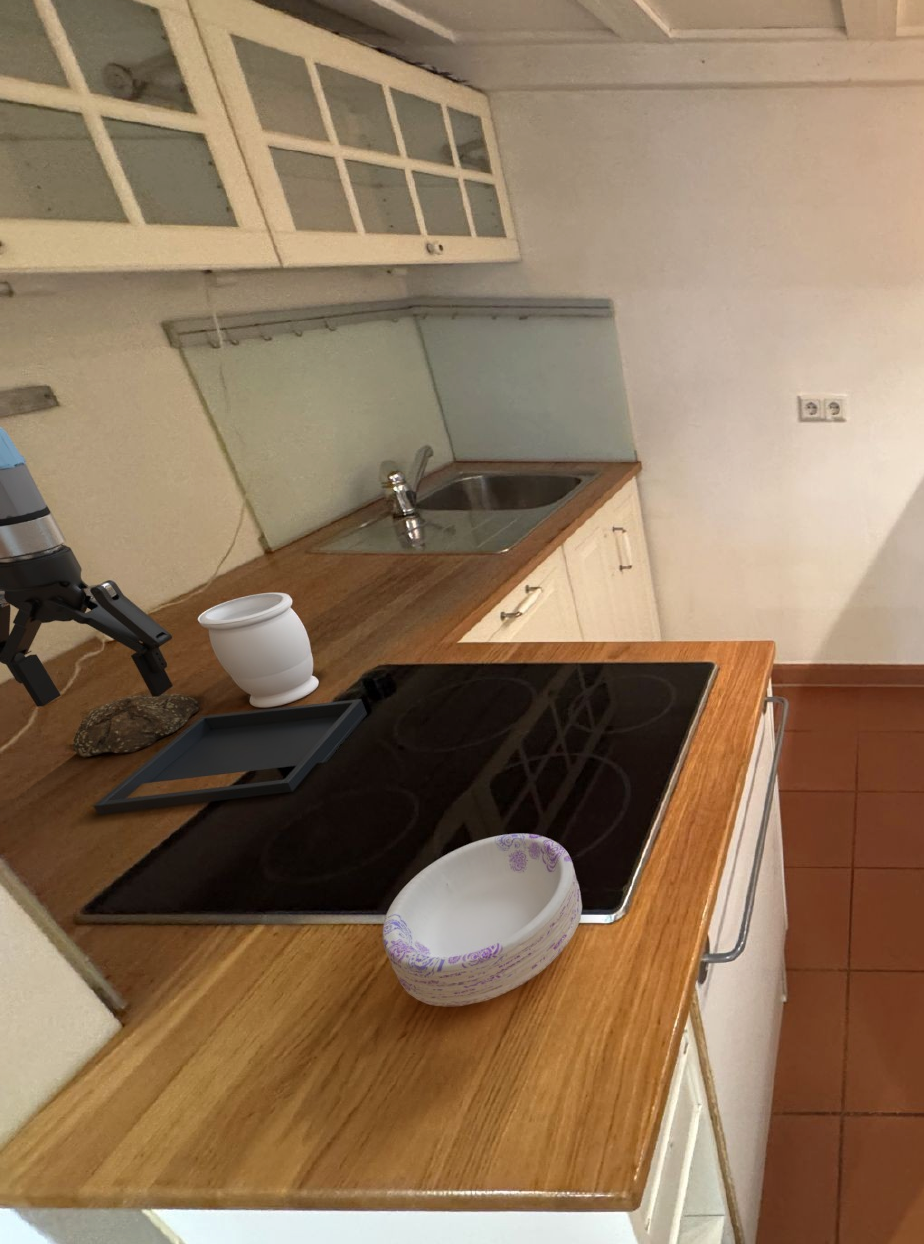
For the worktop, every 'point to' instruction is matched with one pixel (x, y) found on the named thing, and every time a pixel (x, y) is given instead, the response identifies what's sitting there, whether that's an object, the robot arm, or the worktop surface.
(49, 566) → the robot arm
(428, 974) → the paper bowls
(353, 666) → the worktop surface
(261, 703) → the jar
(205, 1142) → the worktop surface
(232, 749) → the bread tray
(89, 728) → the bread roll
